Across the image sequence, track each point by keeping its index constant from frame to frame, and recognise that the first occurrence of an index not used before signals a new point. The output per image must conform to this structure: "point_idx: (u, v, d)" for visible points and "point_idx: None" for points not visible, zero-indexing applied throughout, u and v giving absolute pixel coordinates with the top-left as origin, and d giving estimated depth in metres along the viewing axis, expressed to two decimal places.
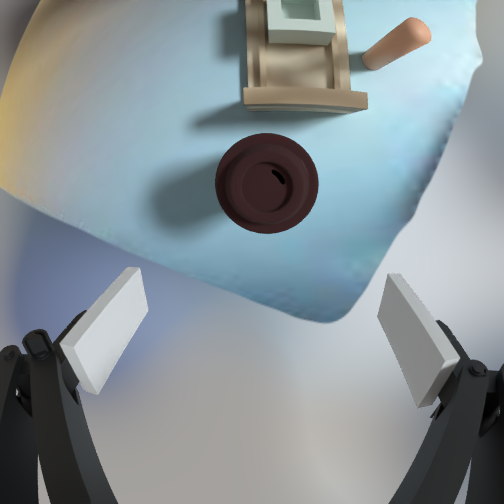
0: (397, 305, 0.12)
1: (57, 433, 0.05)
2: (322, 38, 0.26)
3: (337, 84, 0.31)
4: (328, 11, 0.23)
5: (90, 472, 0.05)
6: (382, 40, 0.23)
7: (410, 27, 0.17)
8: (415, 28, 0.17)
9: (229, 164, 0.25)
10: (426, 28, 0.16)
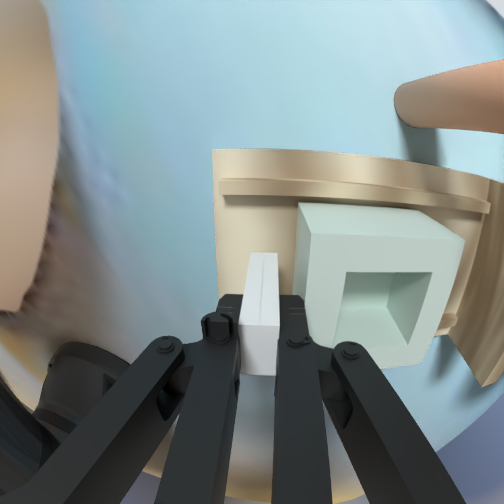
0: None
1: (205, 433, 0.06)
2: None
3: (478, 206, 0.14)
4: (411, 250, 0.11)
5: (219, 480, 0.05)
6: (492, 128, 0.07)
7: None
8: None
9: None
10: None
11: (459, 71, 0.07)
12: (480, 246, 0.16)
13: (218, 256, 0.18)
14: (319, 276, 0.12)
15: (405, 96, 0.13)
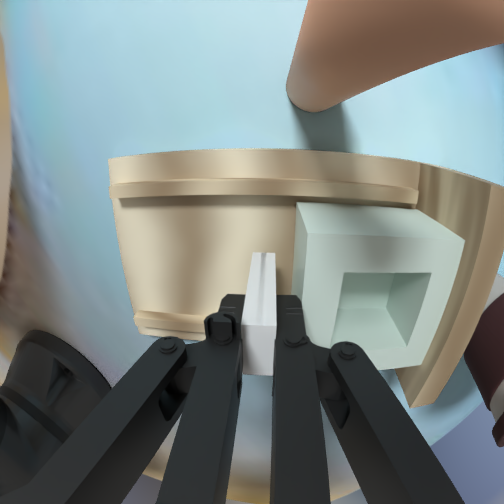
0: None
1: (208, 433, 0.06)
2: None
3: (399, 195, 0.15)
4: (410, 250, 0.11)
5: (221, 479, 0.05)
6: (336, 87, 0.07)
7: None
8: None
9: None
10: None
11: None
12: None
13: (122, 253, 0.18)
14: (316, 276, 0.12)
15: (287, 79, 0.13)
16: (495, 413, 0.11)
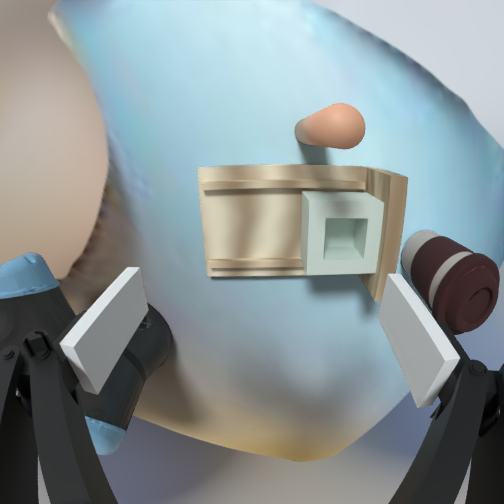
0: (397, 305, 0.12)
1: (57, 434, 0.05)
2: None
3: (354, 185, 0.30)
4: (355, 207, 0.27)
5: (89, 472, 0.05)
6: (318, 145, 0.23)
7: (342, 140, 0.17)
8: (341, 130, 0.17)
9: (450, 327, 0.24)
10: (333, 109, 0.16)
11: (306, 118, 0.23)
12: None
13: (202, 222, 0.34)
14: (314, 220, 0.27)
15: (296, 130, 0.29)
16: None
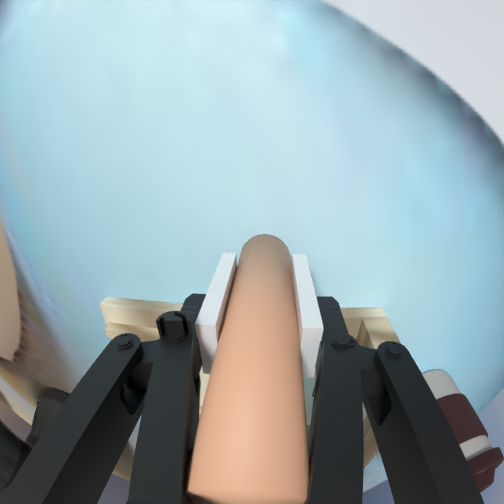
0: (293, 281, 0.14)
1: (168, 428, 0.06)
2: None
3: None
4: None
5: None
6: None
7: None
8: None
9: None
10: (216, 494, 0.04)
11: (231, 304, 0.12)
12: None
13: None
14: None
15: None
16: None
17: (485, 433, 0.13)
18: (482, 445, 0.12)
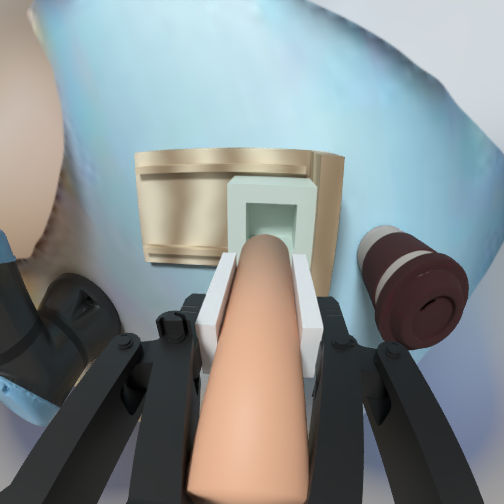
0: (293, 282, 0.14)
1: (168, 428, 0.06)
2: None
3: (293, 169, 0.28)
4: (280, 192, 0.24)
5: None
6: None
7: None
8: None
9: (398, 341, 0.22)
10: (216, 493, 0.04)
11: (230, 303, 0.12)
12: None
13: (139, 207, 0.32)
14: (233, 205, 0.25)
15: None
16: None
17: None
18: None
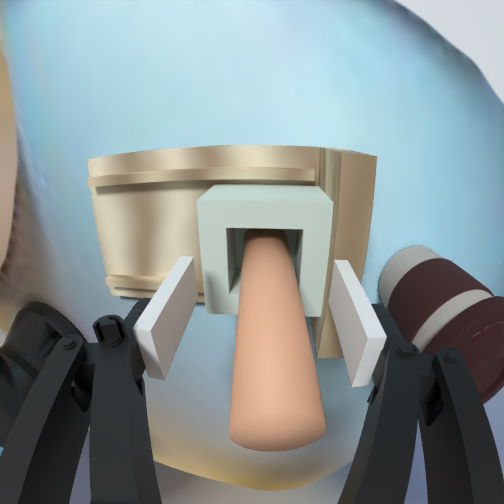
0: (339, 289, 0.13)
1: (116, 427, 0.06)
2: None
3: (295, 175, 0.20)
4: (277, 211, 0.16)
5: (142, 470, 0.05)
6: None
7: (274, 445, 0.08)
8: (272, 438, 0.08)
9: None
10: (259, 421, 0.07)
11: (245, 281, 0.14)
12: None
13: (97, 229, 0.24)
14: (207, 231, 0.17)
15: None
16: None
17: (491, 293, 0.14)
18: None
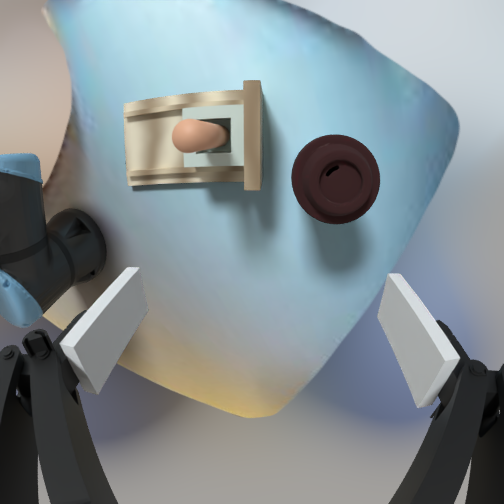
0: (397, 305, 0.12)
1: (57, 433, 0.05)
2: None
3: (234, 102, 0.35)
4: (218, 110, 0.32)
5: (90, 473, 0.05)
6: None
7: (188, 146, 0.23)
8: (187, 139, 0.23)
9: (317, 210, 0.30)
10: (181, 124, 0.23)
11: None
12: None
13: (125, 142, 0.39)
14: None
15: None
16: None
17: None
18: None
